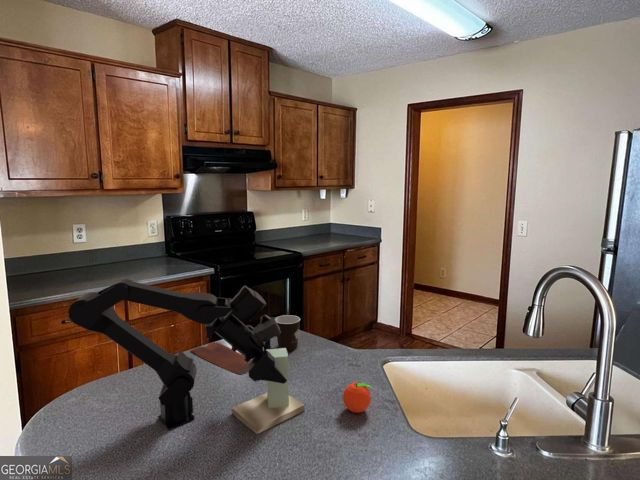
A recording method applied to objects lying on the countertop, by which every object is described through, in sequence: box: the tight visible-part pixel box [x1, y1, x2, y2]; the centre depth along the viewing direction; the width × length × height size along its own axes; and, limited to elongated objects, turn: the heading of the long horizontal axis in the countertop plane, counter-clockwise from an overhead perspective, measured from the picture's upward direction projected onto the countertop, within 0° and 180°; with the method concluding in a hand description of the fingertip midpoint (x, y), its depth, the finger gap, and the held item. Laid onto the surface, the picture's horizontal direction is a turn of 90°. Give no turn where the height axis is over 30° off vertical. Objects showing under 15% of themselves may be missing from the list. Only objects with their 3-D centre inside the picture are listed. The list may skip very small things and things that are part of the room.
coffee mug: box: [274, 314, 301, 352], centre depth 139 cm, size 12×9×10 cm
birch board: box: [231, 392, 306, 435], centre depth 100 cm, size 14×11×2 cm
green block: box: [266, 348, 290, 408], centre depth 101 cm, size 5×5×13 cm
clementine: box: [342, 382, 375, 414], centre depth 100 cm, size 8×7×7 cm
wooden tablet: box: [191, 341, 253, 375], centre depth 130 cm, size 27×10×2 cm, turn 48°
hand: (283, 373), depth 101 cm, fingers open, 9 cm apart
